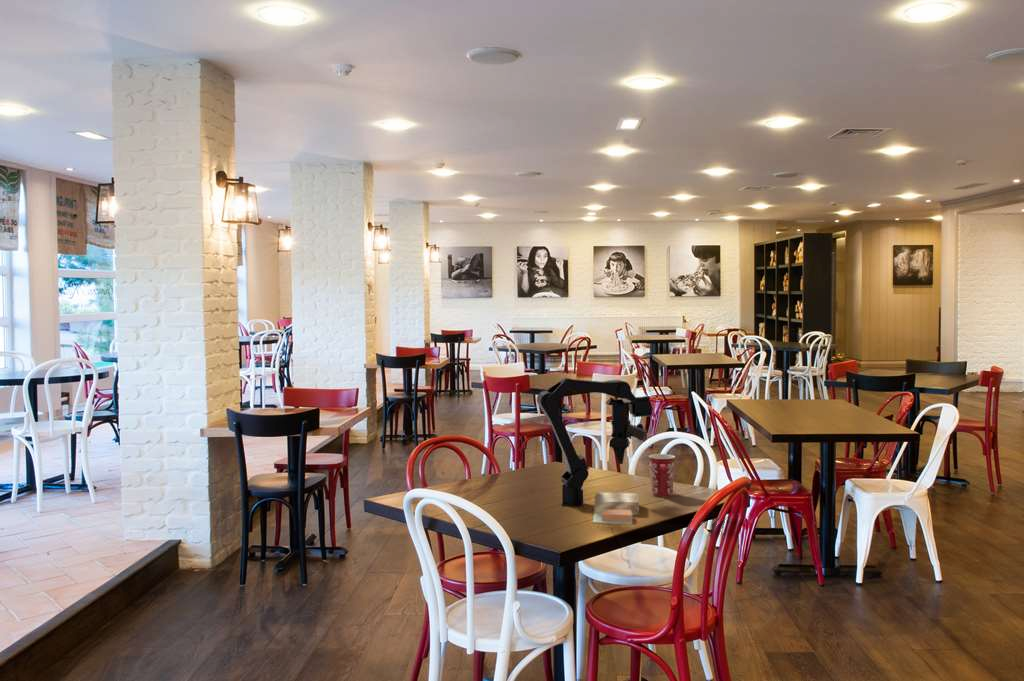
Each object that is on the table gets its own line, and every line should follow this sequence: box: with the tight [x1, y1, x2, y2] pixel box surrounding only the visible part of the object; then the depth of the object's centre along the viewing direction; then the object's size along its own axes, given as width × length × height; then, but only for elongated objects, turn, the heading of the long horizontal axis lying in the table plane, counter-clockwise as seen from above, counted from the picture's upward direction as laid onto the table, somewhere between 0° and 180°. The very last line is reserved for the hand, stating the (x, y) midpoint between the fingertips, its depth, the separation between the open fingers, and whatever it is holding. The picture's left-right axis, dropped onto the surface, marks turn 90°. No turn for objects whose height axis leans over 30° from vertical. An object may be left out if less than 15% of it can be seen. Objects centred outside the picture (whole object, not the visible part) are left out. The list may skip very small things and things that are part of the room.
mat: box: [592, 513, 634, 525], centre depth 261 cm, size 12×11×1 cm
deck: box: [593, 491, 640, 516], centre depth 272 cm, size 14×12×4 cm
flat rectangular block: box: [602, 509, 631, 522], centre depth 260 cm, size 9×6×2 cm, turn 82°
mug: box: [648, 453, 676, 498], centre depth 289 cm, size 13×9×14 cm
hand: (621, 463), depth 282 cm, fingers closed
